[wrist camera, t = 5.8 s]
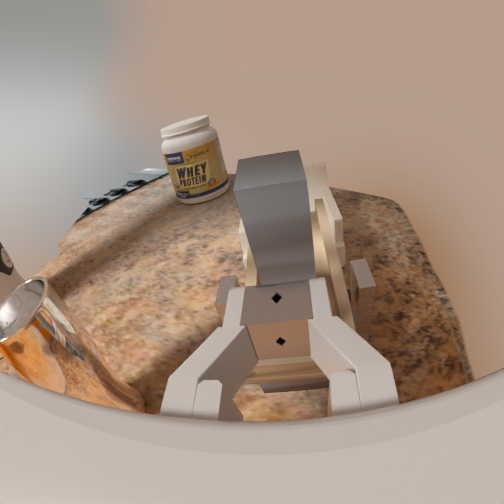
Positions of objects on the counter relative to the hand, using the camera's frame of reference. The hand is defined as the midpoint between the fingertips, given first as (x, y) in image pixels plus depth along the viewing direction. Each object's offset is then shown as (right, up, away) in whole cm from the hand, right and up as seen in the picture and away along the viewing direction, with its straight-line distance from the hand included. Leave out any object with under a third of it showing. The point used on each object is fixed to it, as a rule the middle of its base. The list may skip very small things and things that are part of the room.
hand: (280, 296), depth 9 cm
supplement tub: (-11, +14, +52) cm, 56 cm away
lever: (+3, -3, +15) cm, 16 cm away
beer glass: (-14, -14, +13) cm, 24 cm away
